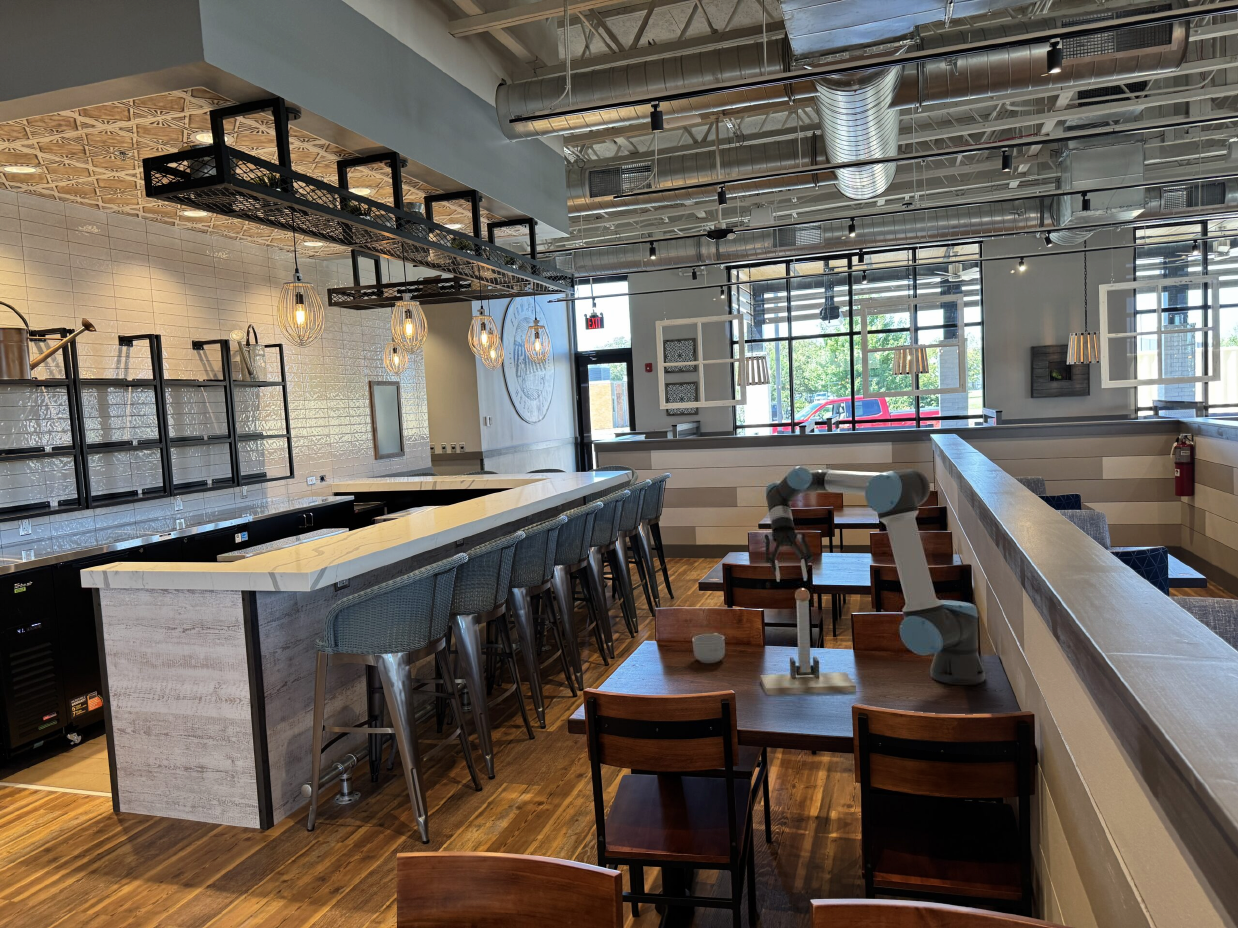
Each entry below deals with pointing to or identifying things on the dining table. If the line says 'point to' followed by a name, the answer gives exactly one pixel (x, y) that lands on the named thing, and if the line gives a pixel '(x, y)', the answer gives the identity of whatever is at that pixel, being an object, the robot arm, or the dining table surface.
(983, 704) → the dining table surface
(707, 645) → the teacup
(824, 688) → the board
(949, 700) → the dining table surface
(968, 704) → the dining table surface
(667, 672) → the dining table surface
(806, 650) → the press lever
